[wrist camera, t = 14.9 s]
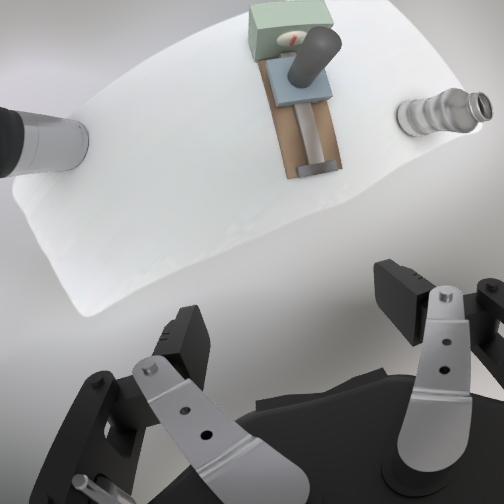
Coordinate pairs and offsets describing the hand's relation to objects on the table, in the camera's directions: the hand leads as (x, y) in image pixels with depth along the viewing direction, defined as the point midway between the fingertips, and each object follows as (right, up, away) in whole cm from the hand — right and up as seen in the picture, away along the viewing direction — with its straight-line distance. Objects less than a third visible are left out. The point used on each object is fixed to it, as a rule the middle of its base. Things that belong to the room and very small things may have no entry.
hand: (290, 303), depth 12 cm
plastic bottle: (+26, +26, +28) cm, 46 cm away
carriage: (+5, +28, +24) cm, 37 cm away
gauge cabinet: (+3, +36, +24) cm, 43 cm away
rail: (+6, +24, +27) cm, 37 cm away
